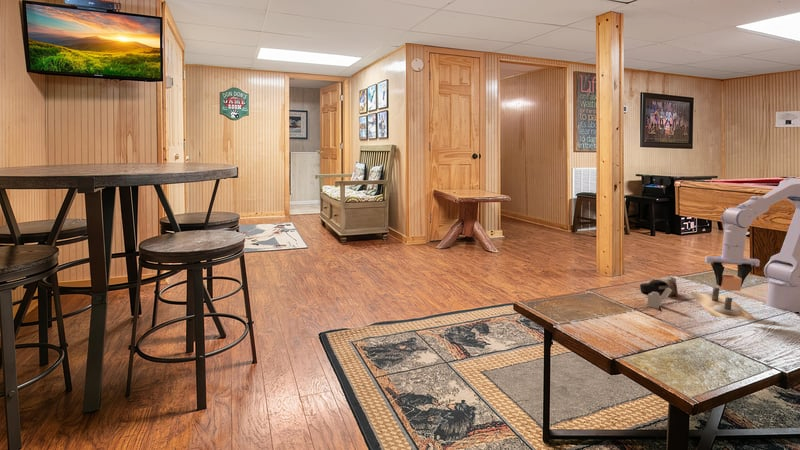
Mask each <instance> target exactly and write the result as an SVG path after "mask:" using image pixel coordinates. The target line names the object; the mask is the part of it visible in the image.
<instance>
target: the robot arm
mask: <svg viewBox="0 0 800 450" xmlns="http://www.w3.org/2000/svg"><path fill="white" fill-rule="evenodd" d="M784 199H786V200H787V201H789V202H790V203H791V204H793V205H794V207H795V210H794V214H793V216H792V219H791V221H790V224H789V226H788V230H787V232H786V235H785V238H784V241H783V244H782V247H781V248H780V252H779V253H776V254H774V255H771V256H770V258H769V261H768V262H767V263H766V264H765V266H764V267H763V274H764V276H765V277H766V281H767V282H768V286H767V287H768V288H767V289H768V290H767V294H766V295H767V296H766V301H765V304H766V305H767V306H768V307H771V308H774V309H780V310H789V311H790V312H792V313H793V312H799V313H798V314H800V178H798V177H797V178H796V177H790V176H789V177H786V178H784V179H783V180H781V181H779V185H777V186H776V187H774V188H773V189H771V190H770V191H769V192H767V193H765V194H764V195H762V196H761V195H760V196H758V195H753V196H751V197H749V199H748V200H745V201H744V202H743V203H739V204H738V205H737V206H735V207H728V208H727V209H725V210H724V211H723V213H722V215H720V220H721V222H722V225H723V226H722V229H723V231H724V232H723V239H722V248H721V250H722V251H721V255H713V256H712V255H711V256H710V255H705V256H704V263H706V264H710V266H711V268H712V270H713V273H714V277H715V281H716V286H717V285H718V286H721V283H722V275H723V274H724V270H725V269H726V268H725V266H724V265H736V266H737V274H736V275H737V276H738V277H740V278H741V279H742V282H741V287H742V286H743V284H744V282H745V280H746V278H747V277H748V275H749V274H750V273H751V272H752V271H753V266H754V267H760V264H761V260H760V259H757V258H749V257H744V256H745V254H744V253H745V249H746V248H745V246H746V239H747V231H748V227H750V226H751V225H752V224H753V223H754V221H755V220H756V218H758V217H759V216H761V215H763V214H765V213H766V212H768V211H769V210H770V206H772V205H774V204H776V203H779V202H781V201H783V200H784ZM723 264H724V265H723ZM718 286H717V287H718Z"/></svg>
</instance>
